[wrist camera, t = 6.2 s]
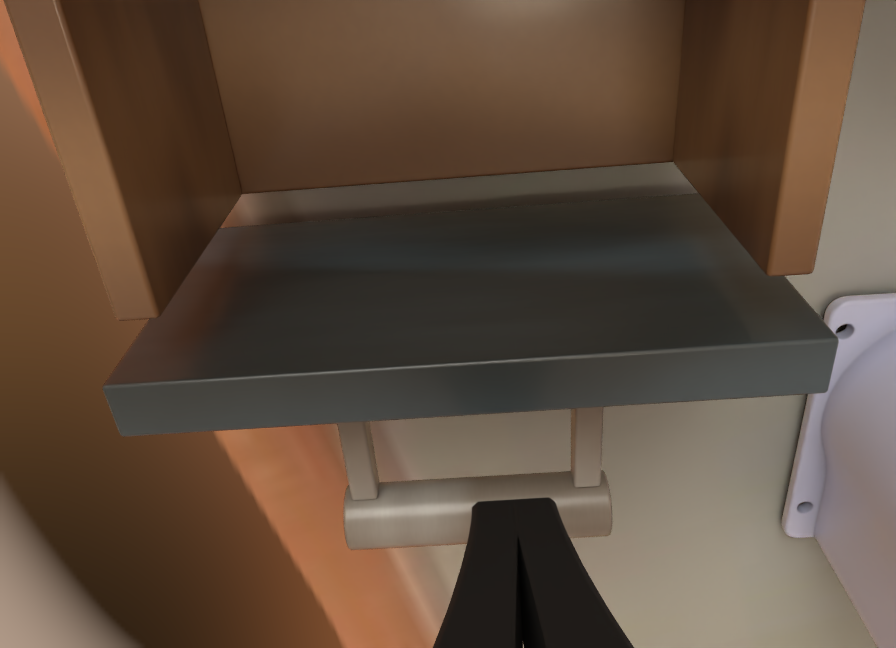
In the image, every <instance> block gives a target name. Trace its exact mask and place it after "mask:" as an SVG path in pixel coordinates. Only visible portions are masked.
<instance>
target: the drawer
mask: <svg viewBox="0 0 896 648" xmlns="http://www.w3.org/2000/svg"><path fill="white" fill-rule="evenodd" d="M865 1H866V0H4V3H5V6H6V8H7V11H8V14H9V17H10V20H11V23H12V25H13V28H14V31H15V34H16V37H17V40H18V42H19V45H20V48H21V51H22V54H23V57H24V59H25V62H26V65H27V68H28V71H29V74H30V76H31V79H32V82H33V85H34V88H35V91H36V93H37V96H38V99H39V102H40V105H41V108H42V110H43V113H44V116H45V119H46V122H47V125H48V127H49V130H50V133H51V136H52V139H53V142H54V144H55V147H56V150H57V153H58V156H59V159H60V161H61V164H62V167H63V170H64V173H65V176H66V178H67V181H68V184H69V187H70V190H71V193H72V196H73V198H74V201H75V204H76V207H77V210H78V213H79V215H80V218H81V221H82V224H83V227H84V230H85V232H86V235H87V238H88V241H89V244H90V246H91V249H92V252H93V255H94V258H95V261H96V264H97V266H98V269H99V272H100V275H101V277H102V280H103V283H104V286H105V289H106V292H107V295H108V297H109V300H110V303H111V306H112V309H113V312H114V315H115V317H116V319H117V320H119V321H125V320H141V319H149V320H148V321H147V323H146V324H145V326H144V327H143V328H142V330H141V332H140V333H139V334H138V336H137V337H136V339H135V340H134V342H133V343H132V344H131V346H130V347H129V349H128V350H127V352H126V353H125V355H124V356H123V357H122V359H121V360H120V362H119V363H118V365H117V366H116V367H115V369H114V370H113V372H112V373H111V375H110V376H109V378H108V379H107V380H106V382H105V383H104V385H103V391H104V394H105V396H106V399H107V402H108V404H109V407H110V409H111V412H112V415H113V417H114V420H115V422H116V425H117V428H118V430H119V433H120V435H121V436H124V437H125V436H141V435H157V434H173V433H190V432H205V431H222V430H238V429H254V428H270V427H286V426H302V425H318V424H334V423H337V425H338V430H339V436H340V441H341V446H342V451H343V456H344V461H345V467H346V472H347V477H348V482H349V485H348V486H347V489H346V492H345V497H344V513H343V514H344V532H345V538H346V542H347V545H348V548H349V549H350V550H365V549H383V548H401V547H419V546H437V545H455V544H467V541H468V536H469V531H470V524H471V516H472V506H474V505H475V504H476V503H477V502H478V501H495V500H512V499H529V498H546V497H549V498H551V499H552V500H553V501H555V502H556V505H557V508H558V511H559V514H560V517H561V519H562V522H563V524H564V527H565V529H566V531H567V533H568V536H569V538H582V537H600V536H609V535H610V534H611V530H612V504H611V495H610V489H609V484H608V480H607V477H606V474H605V472H604V471H603V470H601V460H602V433H603V407H608V406H624V405H641V404H657V403H673V402H689V401H705V400H721V399H737V398H753V397H769V396H786V395H802V394H818V393H826V392H827V391H828V388H829V383H830V379H831V374H832V370H833V365H834V361H835V357H836V352H837V348H838V343H839V340H838V337H837V336H836V335H835V334H834V333H833V331H832V330H831V329H830V328H829V327H828V326H827V324H826V323H825V322H824V321H823V320H822V319H821V318H820V316H819V315H818V314H817V313H816V312H815V311H814V310H813V308H812V307H811V306H810V305H809V304H808V303H807V301H806V300H805V299H804V298H803V297H802V296H801V295H800V293H799V292H798V291H797V290H796V289H795V288H794V287H793V285H792V284H791V283H790V282H789V281H788V280H787V279H786V277H785V276H787V275H802V274H810V273H812V272H813V270H814V265H815V260H816V255H817V250H818V245H819V240H820V234H821V229H822V224H823V219H824V214H825V208H826V203H827V198H828V193H829V188H830V183H831V177H832V172H833V167H834V162H835V157H836V151H837V146H838V141H839V136H840V131H841V126H842V120H843V115H844V110H845V105H846V100H847V94H848V89H849V84H850V79H851V74H852V69H853V63H854V58H855V53H856V48H857V43H858V38H859V32H860V27H861V22H862V17H863V12H864V6H865ZM665 162H674V164H675V165H676V166H677V167H678V169H679V170H680V171H681V172H682V173H683V175H684V176H685V177H686V178H687V180H688V181H689V182H690V183H691V184H692V186H693V187H694V188H695V189H696V190H697V192H698V193H695V194H682V195H668V196H654V197H640V198H627V199H613V200H599V201H585V202H572V203H558V204H544V205H531V206H517V207H503V208H489V209H476V210H462V211H448V212H434V213H421V214H407V215H393V216H380V217H366V218H352V219H338V220H325V221H311V222H297V223H283V224H270V225H256V226H242V227H229V228H220V226H221V225H222V223H223V222H224V220H225V219H226V218H227V216H228V215H229V213H230V212H231V210H232V209H233V207H234V206H235V204H236V203H237V201H238V200H239V198H240V197H241V195H242V194H249V193H262V192H276V191H289V190H303V189H316V188H329V187H343V186H356V185H370V184H383V183H396V182H410V181H423V180H437V179H450V178H464V177H477V176H490V175H504V174H517V173H531V172H544V171H557V170H571V169H584V168H598V167H611V166H624V165H638V164H651V163H665ZM560 409H571V471H565V472H548V473H531V474H514V475H497V476H480V477H463V478H446V479H429V480H412V481H395V482H379V476H378V470H377V464H376V458H375V452H374V446H373V440H372V434H371V428H370V422H369V421H383V420H399V419H415V418H431V417H447V416H463V415H479V414H496V413H512V412H528V411H544V410H560Z"/></svg>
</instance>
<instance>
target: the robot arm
mask: <svg viewBox="0 0 896 648" xmlns="http://www.w3.org/2000/svg"><path fill="white" fill-rule="evenodd" d="M823 321H824V322H825V323H826V324H827V326H828V327H829V328H830V329H831V330H832V331H833V333H834V334H835V335H836V336H837V337H838V340H839V343H838V348H837V352H836V357H835V361H834V365H833V370H832V374H831V379H830V383H829V388H828V391H827V392H826V393H818V394H808V397H807V402H806V407H805V412H804V416H803V421H802V426H801V431H800V435H799V440H798V445H797V450H796V455H795V459H794V464H793V469H792V474H791V479H790V483H789V488H788V493H787V498H786V503H785V507H784V512H783V517H782V522H781V523H782V527H783V529H784V531H785V533H786V534H787V535H788V536H790V537H794V538H804V537H815V538H816V540H817V542H818V543H819V545H820V547H821V549H822V550H823V552H824V554H825V556H826V558H827V559H828V561H829V563H830V565H831V566H832V568H833V570H834V572H835V573H836V575H837V577H838V579H839V580H840V582H841V584H842V586H843V588H844V589H845V591H846V593H847V595H848V596H849V598H850V600H851V602H852V603H853V605H854V607H855V609H856V610H857V612H858V614H859V616H860V618H861V619H862V621H863V623H864V625H865V626H866V628H867V630H868V632H869V633H870V635H871V637H872V639H873V640H874V642H875V644H876V646H877V648H896V293H885V294H870V295H855V296H844V297H840V298H838V299H836V300H834V301H832V302H831V304H830V305H829V306H828V307H827V309H826V312H825V316H824V320H823ZM844 324H848V325H847V327H846V328H845V329H844V330H843V331H841V332H837V333H836V330H837V328H839V327H840V326H841V325H844ZM802 502H805V503H803V504H801V503H802ZM799 504H800V505H799ZM523 644H524V648H634V647H633V645H632V644H631V642H630V641H629V639H628V638H627V636H626V635H625V633H624V632H623V630H622V629H621V627H620V626H619V624H618V623H617V621H616V620H615V618H614V617H613V615H612V614H611V612H610V610H609V609H608V607H607V606H606V604H605V602H604V600H603V599H602V597H601V595H600V594H599V592H598V590H597V589H596V587H595V585H594V583H593V582H592V580H591V578H590V577H589V575H588V573H587V571H586V569H585V567H584V566H583V564H582V562H581V560H580V558H579V556H578V554H577V552H576V550H575V548H574V546H573V544H572V542H571V540H570V538H569V536H568V533H567V531H566V529H565V527H564V524H563V522H562V519H561V517H560V514H559V511H558V508H557V505H556V502H555V501H553V500H552V499H551V498H549V497H546V498H529V499H512V500H495V501H478V502H477V503H476V504H475V505H474V506H472V516H471V524H470V531H469V536H468V541H467V546H466V550H465V554H464V558H463V562H462V566H461V569H460V572H459V576H458V579H457V582H456V585H455V588H454V592H453V595H452V598H451V601H450V604H449V607H448V610H447V613H446V615H445V618H444V620H443V623H442V626H441V628H440V631H439V633H438V636H437V638H436V641H435V644H434V646H433V648H523Z"/></svg>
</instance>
